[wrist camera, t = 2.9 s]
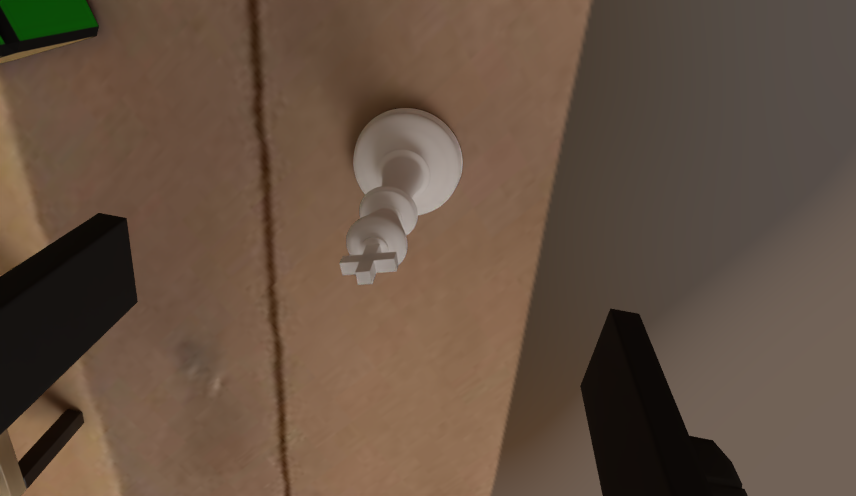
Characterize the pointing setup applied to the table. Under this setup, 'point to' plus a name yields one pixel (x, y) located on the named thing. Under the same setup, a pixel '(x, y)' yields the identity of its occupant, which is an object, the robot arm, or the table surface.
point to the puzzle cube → (42, 26)
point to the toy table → (34, 454)
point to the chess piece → (398, 186)
